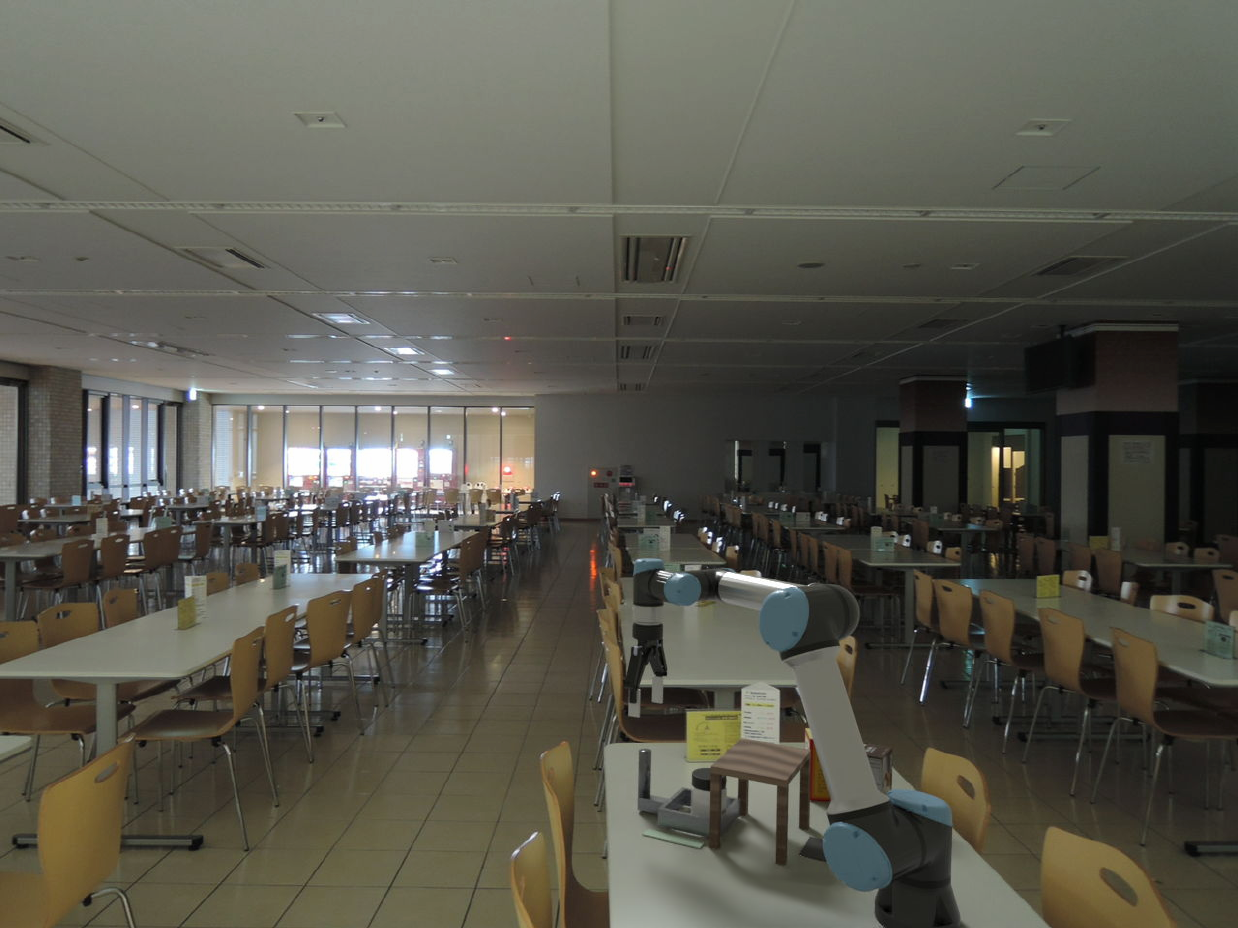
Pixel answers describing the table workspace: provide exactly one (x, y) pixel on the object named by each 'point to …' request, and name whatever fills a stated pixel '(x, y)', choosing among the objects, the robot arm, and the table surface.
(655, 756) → the table surface
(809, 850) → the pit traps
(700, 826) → the sled
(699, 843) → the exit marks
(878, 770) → the coffee box
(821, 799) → the baking soda box
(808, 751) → the small wooden table
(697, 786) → the jar
